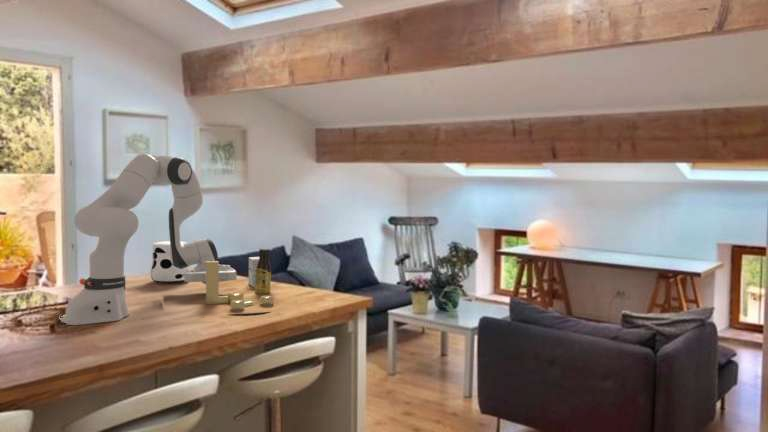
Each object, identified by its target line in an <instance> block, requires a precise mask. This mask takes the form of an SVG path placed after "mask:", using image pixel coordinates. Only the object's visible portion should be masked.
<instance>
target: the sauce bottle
mask: <svg viewBox="0 0 768 432" xmlns="http://www.w3.org/2000/svg"><path fill="white" fill-rule="evenodd" d="M258 250H259V252H258V253H259V257H260V258H259V261H258V264H257V267H256V279H255V287H254V292H255V294H258V295H259V294H260V295H261V294H262V295H265V294H270V293H271V282H272V281H271V279H272V265H271V262H270V259H269V258H270V257H269V254H270V248H265V247H262V248H259V249H258Z"/></svg>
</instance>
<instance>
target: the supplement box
mask: <svg viewBox="0 0 768 432" xmlns="http://www.w3.org/2000/svg"><path fill="white" fill-rule="evenodd" d="M259 258H260V256H250V257H248V285H249V286H251V287H252V288H255V279H256V267H257V264H258V261H259Z"/></svg>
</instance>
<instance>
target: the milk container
mask: <svg viewBox="0 0 768 432" xmlns="http://www.w3.org/2000/svg"><path fill="white" fill-rule="evenodd" d="M180 243H181V244H184V243H188V241H187V242H186V241H180ZM151 253H152V263H151V267H150V277H151V278H150V279H151V280H152V281H153V282H154V283H159V284H178V283H182V282H183V283H185V281H184V277H183V274H184V273H185V272H186V271H191V268H190V266H188V267H185V268H183V269H179V268H177V267H175V266H173V264H172V263H171V260H170V240H169V241H158V242H154V243H153V244H152V252H151Z"/></svg>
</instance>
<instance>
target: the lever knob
mask: <svg viewBox="0 0 768 432" xmlns="http://www.w3.org/2000/svg"><path fill="white" fill-rule="evenodd" d="M219 263H220V261H218V260H217V261H212V262H206V284H205V304H206V305H216V304H217V305H219V304H230V302H231V301H234V300H242V301H244V302H245V300H244V293H242V292H231V293H228V294H227V295H220V293H219V291H220V290H219V286H220V285H219V283H220V282H219Z"/></svg>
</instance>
